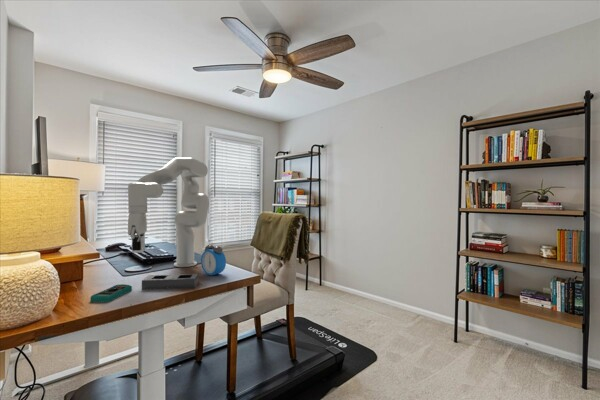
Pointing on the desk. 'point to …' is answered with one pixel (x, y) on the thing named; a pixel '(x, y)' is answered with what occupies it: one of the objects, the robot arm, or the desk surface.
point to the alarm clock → (213, 260)
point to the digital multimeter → (111, 293)
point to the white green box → (142, 245)
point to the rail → (170, 281)
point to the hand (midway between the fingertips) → (138, 248)
